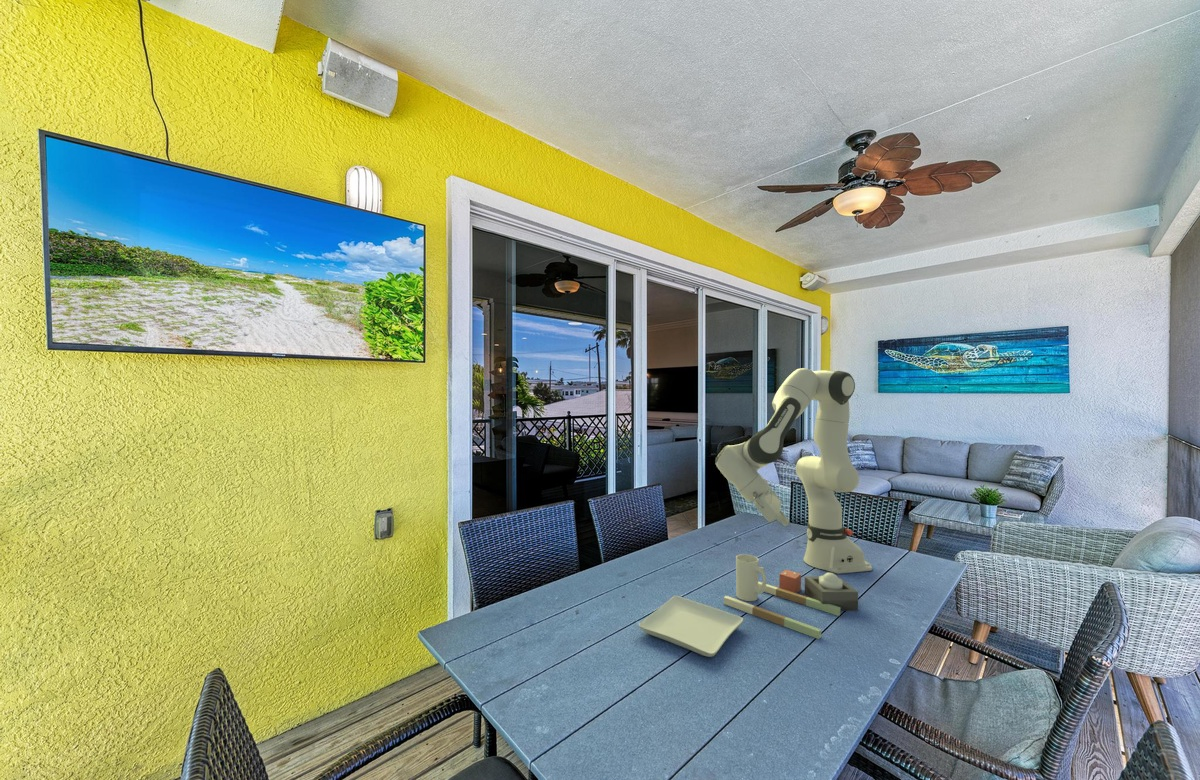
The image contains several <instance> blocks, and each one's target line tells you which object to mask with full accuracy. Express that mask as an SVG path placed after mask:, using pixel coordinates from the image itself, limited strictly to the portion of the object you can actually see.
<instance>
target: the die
mask: <svg viewBox="0 0 1200 780" xmlns="http://www.w3.org/2000/svg"><path fill="white" fill-rule="evenodd" d="M778 576H779V577H778V578H779V581H778V584H779V587H778V588H781V589H784V590H787V591H790V592H793V593H796V594H799V592H800V591H801V590H802V573H799V572H795V571H792V570H789V569H784V570H782V572H780V573H779V574H778Z"/></svg>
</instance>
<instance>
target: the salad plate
mask: <svg viewBox="0 0 1200 780" xmlns="http://www.w3.org/2000/svg"><path fill="white" fill-rule="evenodd" d="M743 622H744V618H743V617H742V616H739V615H737V614H734V613H731V612H729V611H728V612H727V611H726V610H725V611H724V610H722V609H719V608H716V607H713V606H710V605H707V604H704V603H702V602H697V601H695V600H693V599H688V598H685V597H682V596H679V595H673V596H672V597H671V598H670V599H668V600H667V601H666V602H665V603H663V604H662V605H661V606H659V608H658V609H656V610H655V611H654V612H652V613H651V614H650V615H648V616H646V618H644V619H642V621H641V622H639V624H638V627H639V628H640V629H641V630H642V631H643V632H644V633H646V634H648V635H651V636H653V637H654V638H655V637H656V638H659V639H661V640H663V641H667V642H668V643H671V644H674V645H676V646H679V647H682V648H684V649H686V650H689V651H691V652H695V653H697V654H699V655H700V656H703V657H704V656H705V657H708V658H712V657H714V656H715V655H717V654H718V652H719V650H720V649H721V648H722V646H723V645H724V643H725V642H726V641H727V640H728V639H729V637H730V636H731V635H732V634H733V633H734V631H736V630H737V629H738V628H739V627H740V626H741V624H742V623H743Z"/></svg>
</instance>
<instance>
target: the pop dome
mask: <svg viewBox="0 0 1200 780" xmlns="http://www.w3.org/2000/svg"><path fill="white" fill-rule="evenodd" d="M818 577H819V585H820V586H821V587H823V588H824V589H842V586H843V582H842V580H843V579H842V578H841V579H842V580H841V579H839V578H840V577H839V576H837V575H836V573H834V572H826V573H824V574H823V575H822V574H821V575H819V576H818ZM838 577H839V578H838Z"/></svg>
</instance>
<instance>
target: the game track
mask: <svg viewBox="0 0 1200 780" xmlns="http://www.w3.org/2000/svg"><path fill="white" fill-rule="evenodd" d="M762 582H763V581H758V588H761V586H762ZM764 592H765V593H768V594H769V595H773V596H777V597H779V598H782V599H786V600H788V601H792V602H794V603H797V604H801V605H804V606H807V607H810V608H812V609H816V610H819V611H822V612H825V613H828V614H830V615H834V616H837V617H840V615H841V611H840V607H838V606H835V605H831V604H822V603H821V602H820V601H819V600H816V599H812V598H809V597H807V596H806V595H803V594H800V593H793V592H790V591H787V590H784V589H781V588H779V587H777V586H774V585H772V584H771V585H770V584H767V583H766V587H765V589H764ZM764 592H763V593H764ZM723 605H725V606H729V607H731V608H734V609H737V610H738V611H742V612H744V613H747V614H749V615H752V616H755V617H758V618H761V619H763V620H766V621H768V622H772V623H774V624H777V625H780V626H782V627H785V628H788V629H790V630H793V631H796V632H798V633H801V634H802V635H803V634H804V635H807V636H808V637H809V636H810V637H812V638H815V639H817V640H820V639H821V637H822V629H821V628H818V627H815V626H812V625H809V624H807V623H805V622H801V621H798V620H796V619H793V618H790V617H788V616H784V615H782V614H779V613H776V612H773V611H770V610H767V609H765V608H762V607H760V606H756V605H754V604H751V603H748V602H747V601H744V600H741V599H737V598H734V597H731V596H728V595H725V596H724V597H723Z"/></svg>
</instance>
